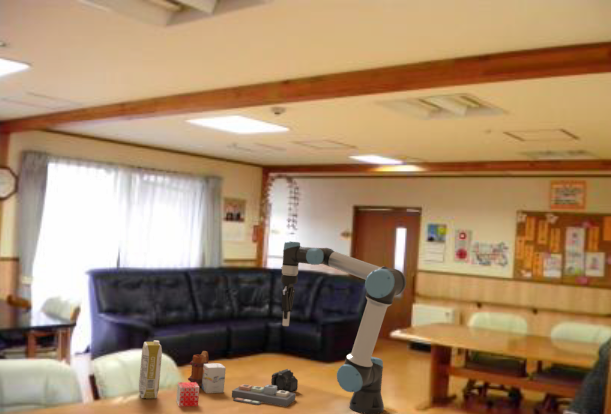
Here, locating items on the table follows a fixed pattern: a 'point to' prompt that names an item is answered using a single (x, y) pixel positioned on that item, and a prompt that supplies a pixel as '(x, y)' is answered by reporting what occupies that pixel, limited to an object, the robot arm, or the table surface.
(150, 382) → the juice carton
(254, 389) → the key sage
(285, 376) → the camera
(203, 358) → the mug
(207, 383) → the ink box
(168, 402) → the table surface
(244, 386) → the key terracotta
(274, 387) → the key slate
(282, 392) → the key ivory
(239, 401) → the tile
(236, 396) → the keypad base
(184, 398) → the small box
